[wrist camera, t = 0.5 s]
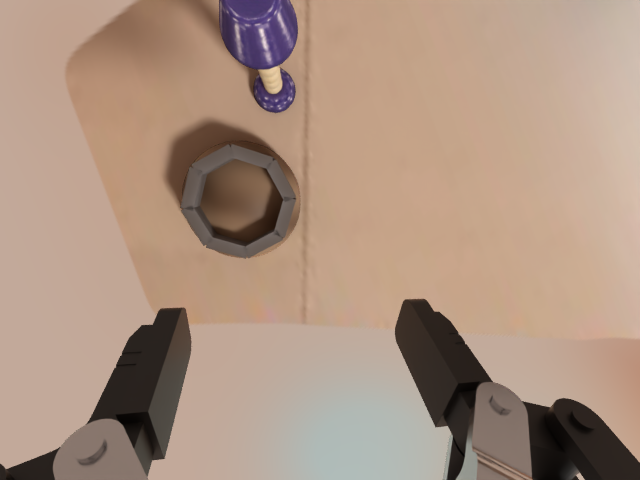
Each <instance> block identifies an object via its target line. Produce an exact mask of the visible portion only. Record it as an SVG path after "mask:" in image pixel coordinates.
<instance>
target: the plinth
mask: <svg viewBox="0 0 640 480" xmlns="http://www.w3.org/2000/svg"><path fill="white" fill-rule="evenodd" d="M191 165H192V166H191V167H189V170H188V173H187V175H186V177H185V181H184V184H183V190H182V203H181V207H180V208H183V210H181V211H182V213H183V214H184V216H185V218H186V219H187V221H188V223H189V225H190V227H191V229H192V230H193V231H194V233H195V234H196V235H197V236H198V238H199V239H200V241H201V243H202V244H203V246H204V245H207V246H206V248H209V249H213V250H215V251H217V252H219V253H222V254H224V255H227V256H232V257H238V258H245V259H246V258H251V257H257V256H260V255H264V254H266V253H269V252H271V251H272V250H274V249H276V248H277V247H279V246H280V245H281V244H282V243H283V242H284V241H285V240H286V239H287V238H288V237H289V236H290V234H291V233H292V231H293V229H294V227H295V226H296V223H297V220H298V217H299V213H300V191H299V187H298V183H297V180H296V178H295V176H294V174H293V172H292V170H291V169H290V167H289V166H288V165H287V164H286V162H285V161H284V160H283V159H282V158H280V157H279V156H278V155H277V154H275V153H274V152H273V151H271V150H269V149H268V148H266V147H264V146H261V145H259V144H256V143H252V142H246V141H231V142H225V143H222V144H218V145H216V146H214V147H212V148H210V149H208V150H207V151H205V152H204V153H203V154H201V155H200V156H199V157H198V158H197V159H196V160H195V162H194V163H193V164H191Z"/></svg>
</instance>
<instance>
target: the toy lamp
mask: <svg viewBox="0 0 640 480" xmlns="http://www.w3.org/2000/svg"><path fill="white" fill-rule="evenodd" d="M219 23H220V31H221V35H222V39H223V41H224V43H225V46H226V47H227V49H228V51H229V52H230V53H231V55H232V56H233V57H234V58H235V59H236V60H238V61H239V62H240V63H242V64H243V65H245V66H247V67H250V68H253V69H257V70H258V71H259V74H258V76H257V77H256V79H255V82H254V96H255V99H256V101H257V103H258V104H259V105H260V106H261V107H262V108H263V109H265V110H267V111H269V112H274V113H278V112H282V111H285V110H286V109H287V108H288V107H289V106H290V105H291V104H292V102H293V100H294V98H295V92H296V91H295V85H294V82H293V80H292V78H291V76H290V75H289V74H288V73H287V72H286V71H284V70H283V69H281V68H280V67H279V65H280V64H282V63H283V62H284V61H285V60H286V59H287V58H288V57H289V56H290V54H291V53H292V51H293V49H294V47H295V44H296V40H297V34H298V26H297V18H296V14H295V11H294V8H293V6H292V4H291V2H290V0H219Z"/></svg>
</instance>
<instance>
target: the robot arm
mask: <svg viewBox="0 0 640 480" xmlns="http://www.w3.org/2000/svg"><path fill="white" fill-rule="evenodd" d="M395 337H396V342H397V344H398V346H399V349H400V351H401V353H402V355H403V357H404V359H405V362H406V364H407V366H408V368H409V370H410V373H411V375H412V377H413V379H414V381H415V383H416V386H417V388H418V390H419V392H420V394H421V396H422V399H423V401H424V403H425V405H426V407H427V410H428V412H429V414H430V416H431V418H432V420H433V422H434V424H435V427H442V426H448V427H449V429H450V431H451V435H450V438H449V443H448V450H447V456H446V463H445V469H444V476H443V480H579V479H578V478H577V476H576V475H577V474H578V473H579V472H580V473H581V475H582V476H583V478H584V479H585V480H640V463H639V462H638V460H637V459H636V458H635V457H634V456H633V455H632V454H631V452H630V451H629V450H628V449H627V448H626V447H625V446H624V444H623V443H622V442H621V441H620V440H619V439H618V437H617V436H616V435H615V434H614V433H613V432H612V431H611V429H610V428H609V427H608V426H607V425H606V424H605V423H604V421H603V420H602V419H601V418H600V417H599V416H598V415H597V414H596V413H594V412H593V411H592V410H591V409H589V408H588V407H586V406H585V405H583V404H581V403H579V402H577V401H574V400H571V399H565V398H562V399H558V400H556V401H555V403H554V404H553V405H552V406H551V407H545V406H541V405H536V404H532V403H527V402H523V401H521V400H520V398H519V397H518V396H517V395H516V394H515V393H514V392H512V391H511V390H510V389H508V388H506V387H505V386H503V385H500V384H498V383H494V382H493V381H492V380H491V379H490V377H489V376H488V374H487V373H486V371H485V370H484V369H483V367H482V366H481V364H480V363H479V362H478V360H477V359H476V357H475V356H474V354H473V353H472V352H471V350H470V349H469V347H468V346H467V345H466V344H465V342H464V340H463V339H462V337H461V336H460V335H459V334H458V331H457V330H456V329H455V327H454V326H453V324H452V323H451V321H449V320H448V319H447V318H446V317H445V316H443V315H442V314H441V313H440V312H434V311H433V309H432V308H431V306H430V305H429V303H428V302H427V300H425V299H406V300H404V301H403V304H402V307H401V310H400V314H399V317H398V320H397V324H396V327H395ZM190 354H191V336H190V330H189V324H188V319H187V313H186V309H185V308H162V309H160V310H159V311H158V314H157V316H156V319H155V321H154V323H153V325H142V326H141V327H140V328H139V329H138V330H137V331H136V332H135V333H134V334H133V335H132V336H131V337H130V338H129V340H128V341H127V343H126V346H125V348H124V350H123V352H122V356H120V358H119V360H118V362H117V364H116V368H115V369H114V370H113V373H112V375H111V377H110V379H109V381H108V383H107V385H106V387H105V389H104V391H103V393H102V395H101V397H100V400H99V402H98V404H97V406H96V408H95V410H94V412H93V414H92V416H91V418H90V420H89V421H88V423H87V424H86V425H85V426H83V427H81V428H80V429H78V430H77V431H76V432H74V433H73V434H72V435H71V436H70V437H69V438H68V439H67V440H66V441H65V442H64V443H63V445H62V446H61V447H59V448H58V449H56V450H54V451H52V452H49V453H47V454H45V455H42V456H39V457H37V458H34V459H32V460H30V461H27V462H24V463H22V464H19V465H17V466H14V467H11V468H9V469H5V468H4V466H2V465H1V464H0V480H148V478H147V476H148V473H149V469H150V466H151V462H152V460H159V459H164V458H165V454H166V450H167V447H168V443H169V439H170V435H171V431H172V426H173V423H174V419H175V414H176V410H177V407H178V402H179V398H180V394H181V391H182V387H183V382H184V378H185V374H186V371H187V366H188V362H189V358H190Z"/></svg>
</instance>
